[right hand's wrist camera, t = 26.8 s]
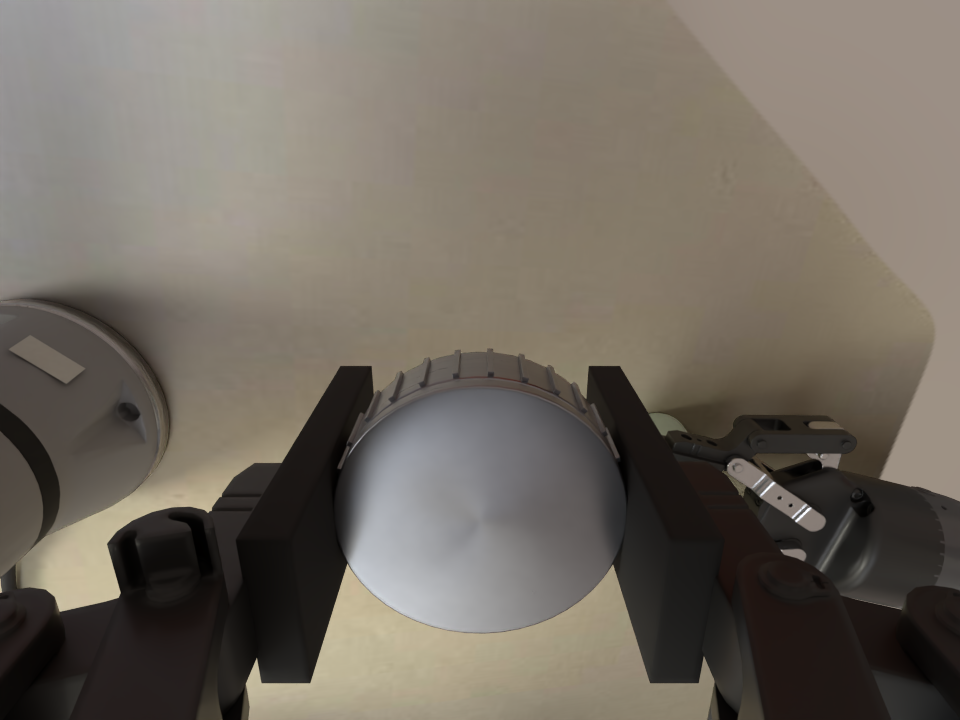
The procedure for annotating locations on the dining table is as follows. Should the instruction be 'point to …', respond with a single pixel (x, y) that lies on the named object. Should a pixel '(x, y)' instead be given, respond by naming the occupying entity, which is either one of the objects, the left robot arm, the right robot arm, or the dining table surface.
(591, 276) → the dining table surface
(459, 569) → the lid
